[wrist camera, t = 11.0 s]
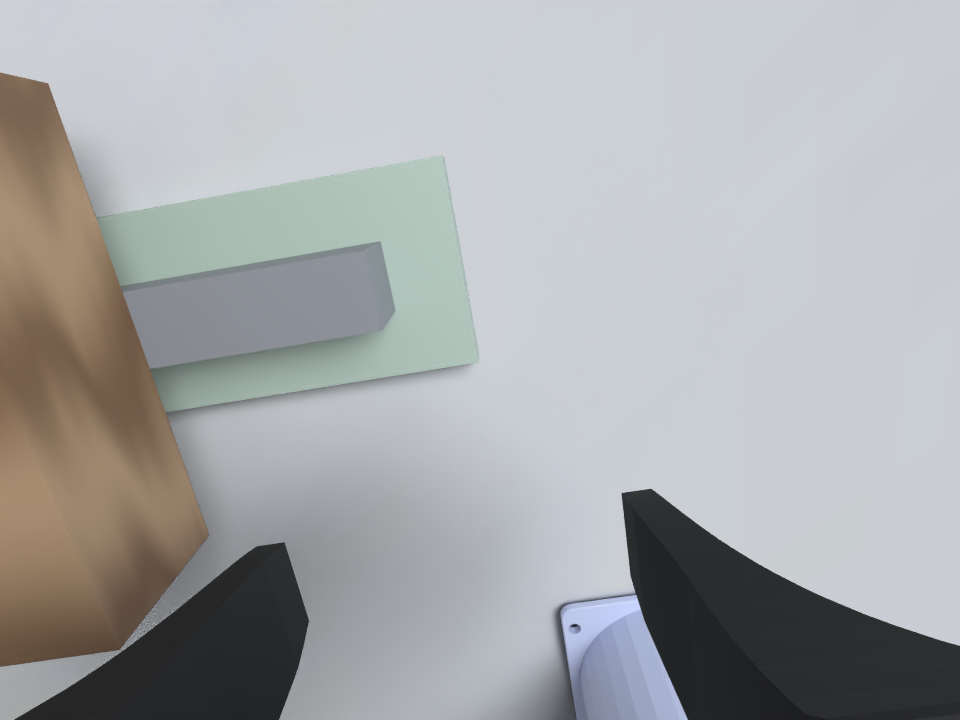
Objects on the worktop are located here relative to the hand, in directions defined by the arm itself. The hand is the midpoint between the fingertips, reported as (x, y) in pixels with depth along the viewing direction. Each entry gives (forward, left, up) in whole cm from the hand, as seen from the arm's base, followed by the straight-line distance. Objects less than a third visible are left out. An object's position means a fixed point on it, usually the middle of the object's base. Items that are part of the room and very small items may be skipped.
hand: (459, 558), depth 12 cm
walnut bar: (+5, +11, -6) cm, 13 cm away
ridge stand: (+5, +9, -10) cm, 15 cm away
